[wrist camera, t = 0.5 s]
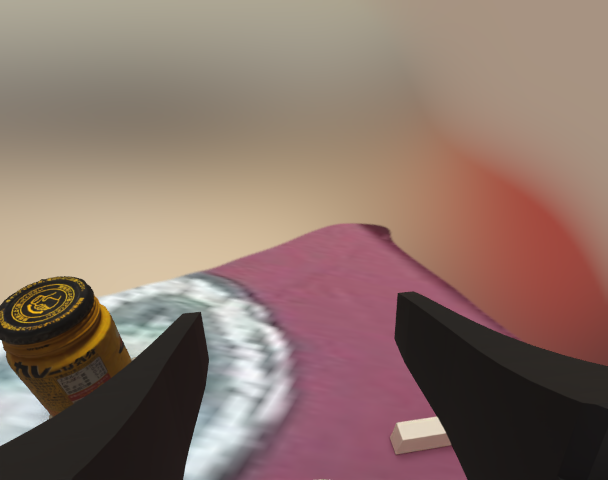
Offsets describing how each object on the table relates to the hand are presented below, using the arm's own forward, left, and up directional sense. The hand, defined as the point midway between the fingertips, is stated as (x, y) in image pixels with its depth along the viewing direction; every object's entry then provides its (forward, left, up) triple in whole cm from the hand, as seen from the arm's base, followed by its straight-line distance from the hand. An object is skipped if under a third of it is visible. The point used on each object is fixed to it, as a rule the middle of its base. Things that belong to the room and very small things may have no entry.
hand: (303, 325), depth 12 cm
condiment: (+8, +15, -18) cm, 25 cm away
